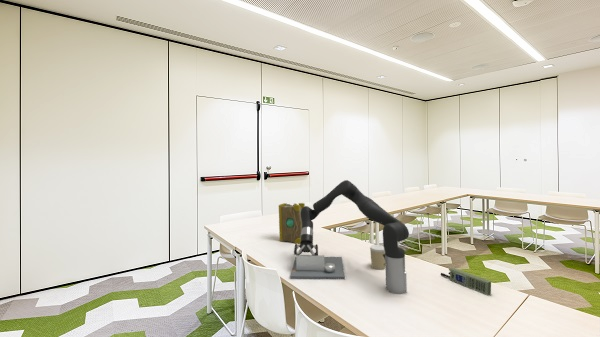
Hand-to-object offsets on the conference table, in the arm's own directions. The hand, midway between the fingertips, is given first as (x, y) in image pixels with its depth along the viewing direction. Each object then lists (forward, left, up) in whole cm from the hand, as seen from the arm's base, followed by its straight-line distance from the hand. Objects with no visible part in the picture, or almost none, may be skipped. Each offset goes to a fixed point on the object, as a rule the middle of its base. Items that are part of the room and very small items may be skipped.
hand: (305, 261), depth 163 cm
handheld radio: (-81, +14, -7) cm, 83 cm away
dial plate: (-7, -6, -6) cm, 11 cm away
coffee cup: (-43, -8, -7) cm, 44 cm away
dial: (-6, +1, -4) cm, 7 cm away
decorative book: (+14, -60, -7) cm, 62 cm away
